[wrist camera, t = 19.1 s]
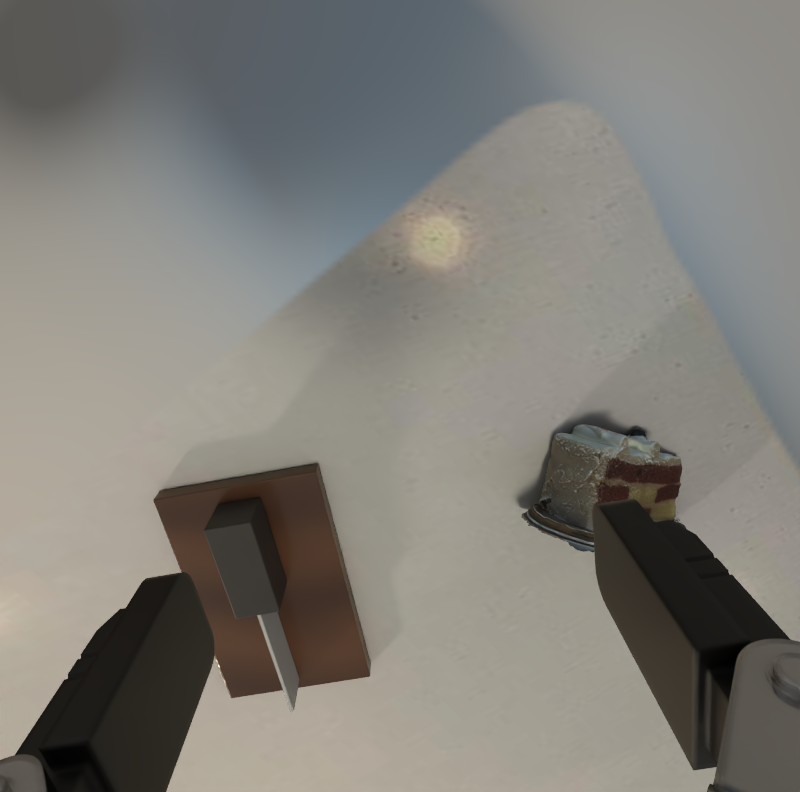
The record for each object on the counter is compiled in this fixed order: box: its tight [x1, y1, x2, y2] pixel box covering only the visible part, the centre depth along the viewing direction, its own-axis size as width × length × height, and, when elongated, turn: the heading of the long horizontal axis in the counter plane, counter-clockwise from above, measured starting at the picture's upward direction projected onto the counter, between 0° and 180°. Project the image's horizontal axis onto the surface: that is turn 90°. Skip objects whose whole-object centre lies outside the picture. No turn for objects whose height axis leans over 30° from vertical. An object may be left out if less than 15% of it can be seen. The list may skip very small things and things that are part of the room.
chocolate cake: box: [522, 425, 686, 552], centre depth 36 cm, size 10×7×12 cm
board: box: [154, 464, 371, 698], centre depth 40 cm, size 18×11×1 cm, turn 10°
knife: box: [204, 497, 299, 712], centre depth 38 cm, size 16×3×3 cm, turn 10°
